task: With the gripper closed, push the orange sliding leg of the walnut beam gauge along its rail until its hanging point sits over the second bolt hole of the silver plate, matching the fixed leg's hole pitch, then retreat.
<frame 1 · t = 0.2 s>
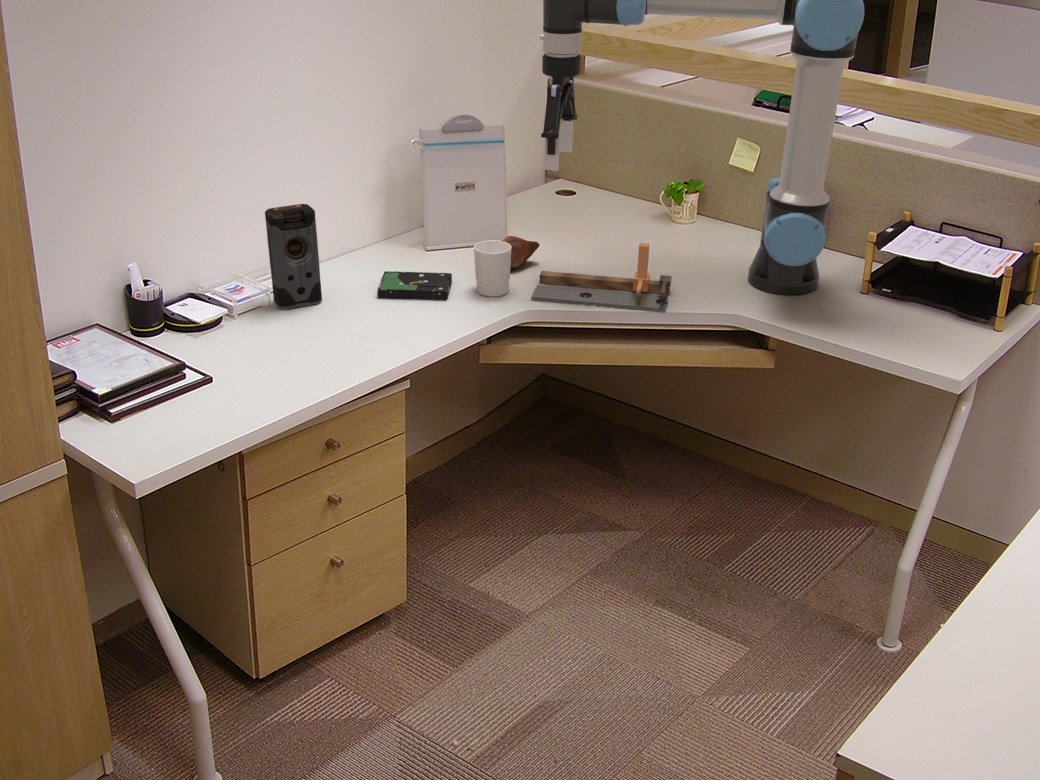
hand: (558, 160, 220), 28 cm above the table, fingers open, 13 cm apart
hole board: (599, 299, 227), on the table
sliding leg: (641, 271, 226), point 5 cm above the table, slide at -8.0 cm
white cup: (492, 291, 230), on the table
beam: (604, 286, 233), on the table
disk drive: (415, 293, 230), on the table
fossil: (509, 267, 243), on the table
electronic device: (298, 303, 224), on the table
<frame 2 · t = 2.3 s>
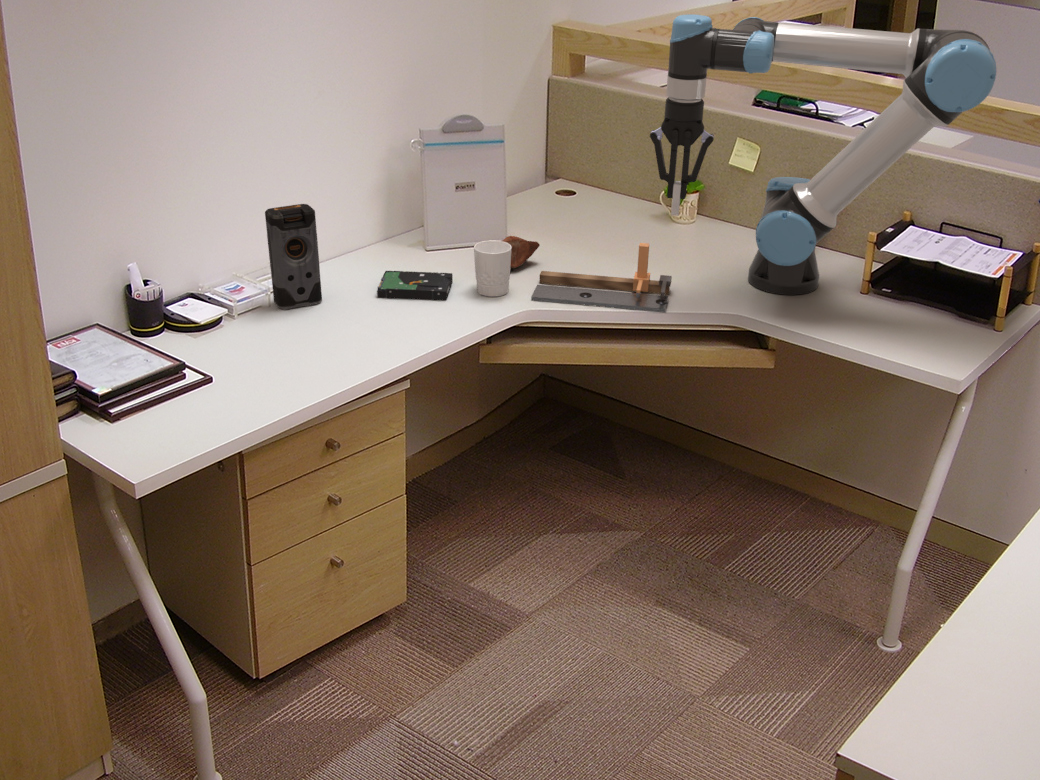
hand: (675, 213, 223), 18 cm above the table, fingers closed
nothing on the table moved.
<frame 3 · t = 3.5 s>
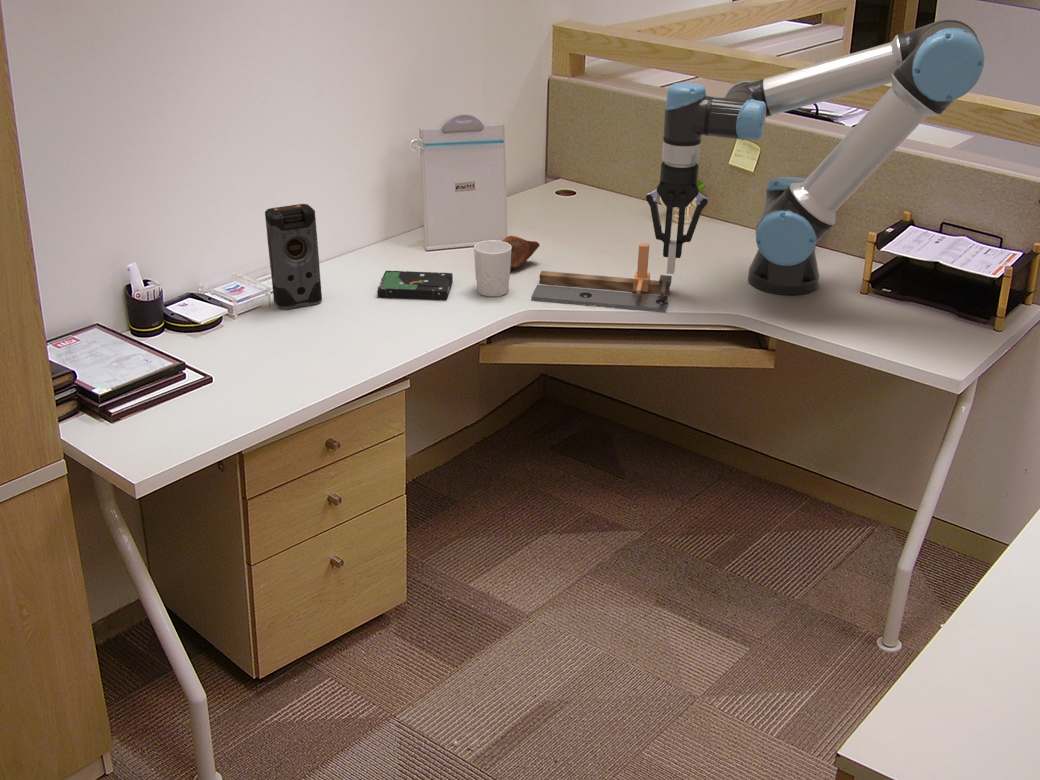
hand: (670, 271, 229), 5 cm above the table, fingers closed
nothing on the table moved.
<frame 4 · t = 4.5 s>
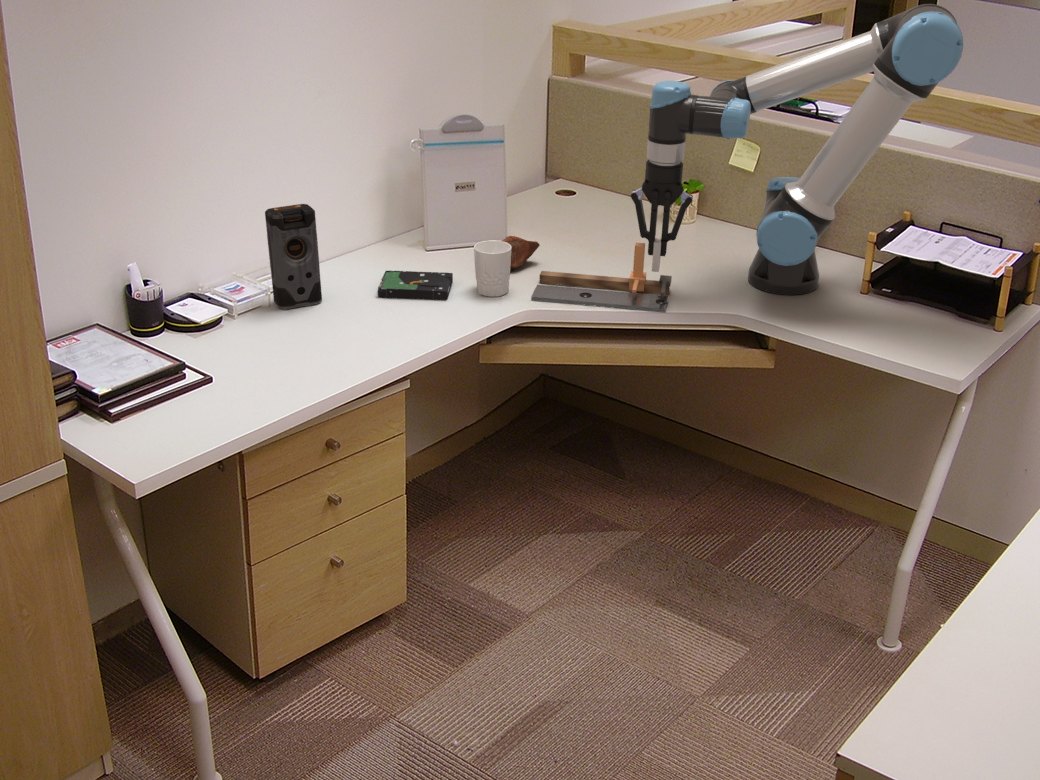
hand: (655, 269, 229), 5 cm above the table, fingers closed
sliding leg: (637, 270, 227), point 5 cm above the table, slide at -7.1 cm, touching gripper
everything else where it was.
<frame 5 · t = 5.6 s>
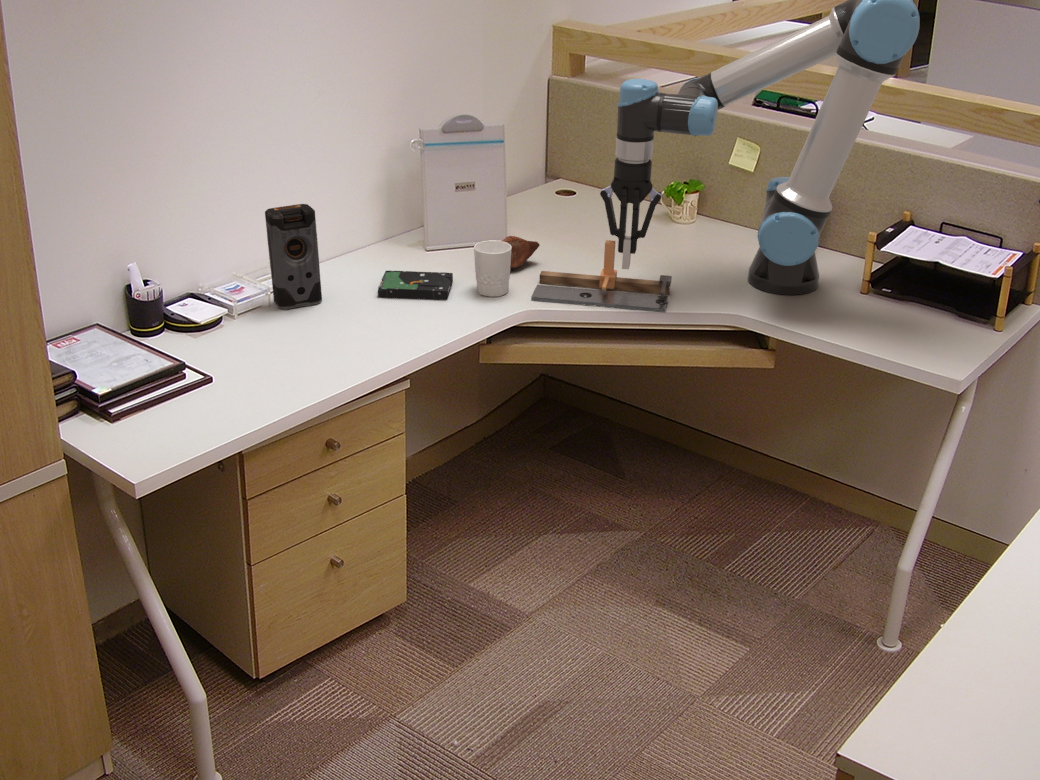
hand: (625, 266, 230), 5 cm above the table, fingers closed
sliding leg: (607, 268, 228), point 5 cm above the table, slide at -0.8 cm, touching gripper
everything else where it was.
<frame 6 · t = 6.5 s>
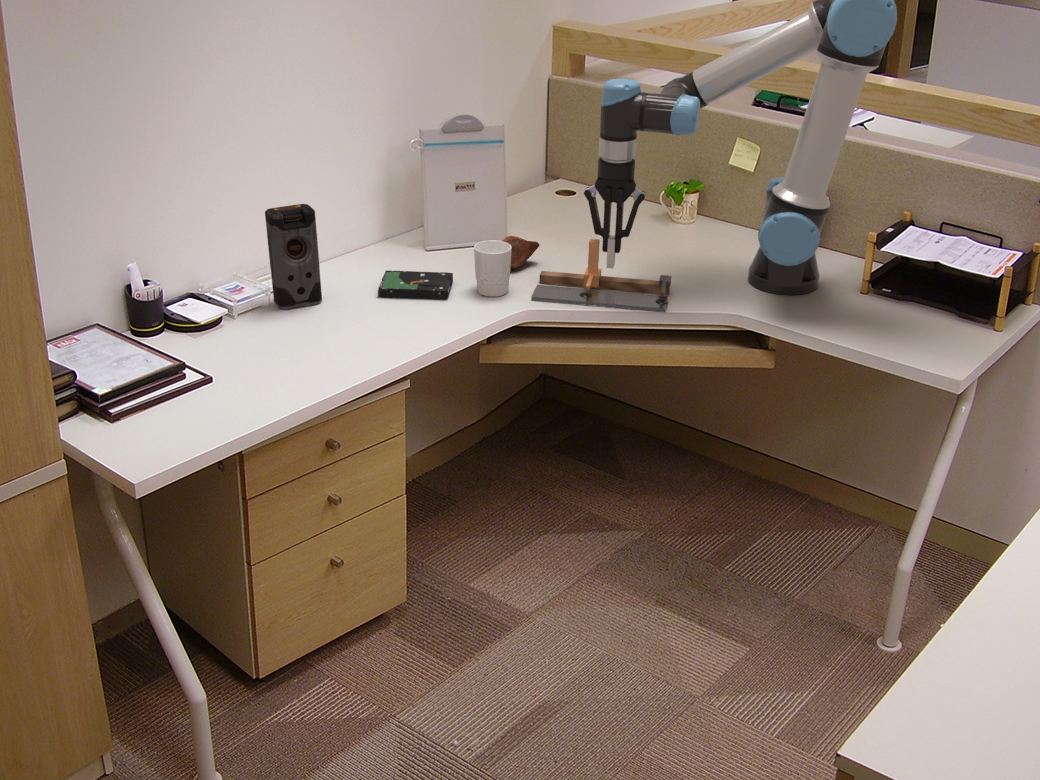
hand: (610, 266, 231), 5 cm above the table, fingers closed
sliding leg: (591, 267, 228), point 5 cm above the table, slide at 2.6 cm, touching gripper
everything else where it was.
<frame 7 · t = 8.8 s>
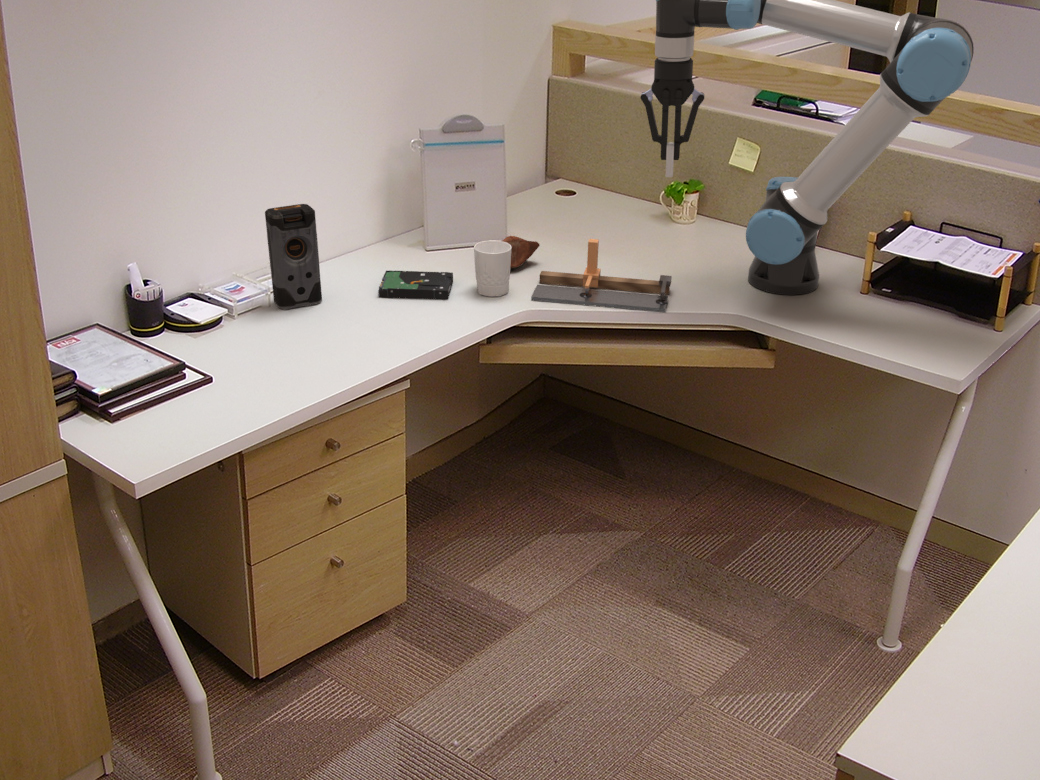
hand: (669, 175, 222), 25 cm above the table, fingers closed
sliding leg: (590, 267, 228), point 5 cm above the table, slide at 2.8 cm
everything else where it was.
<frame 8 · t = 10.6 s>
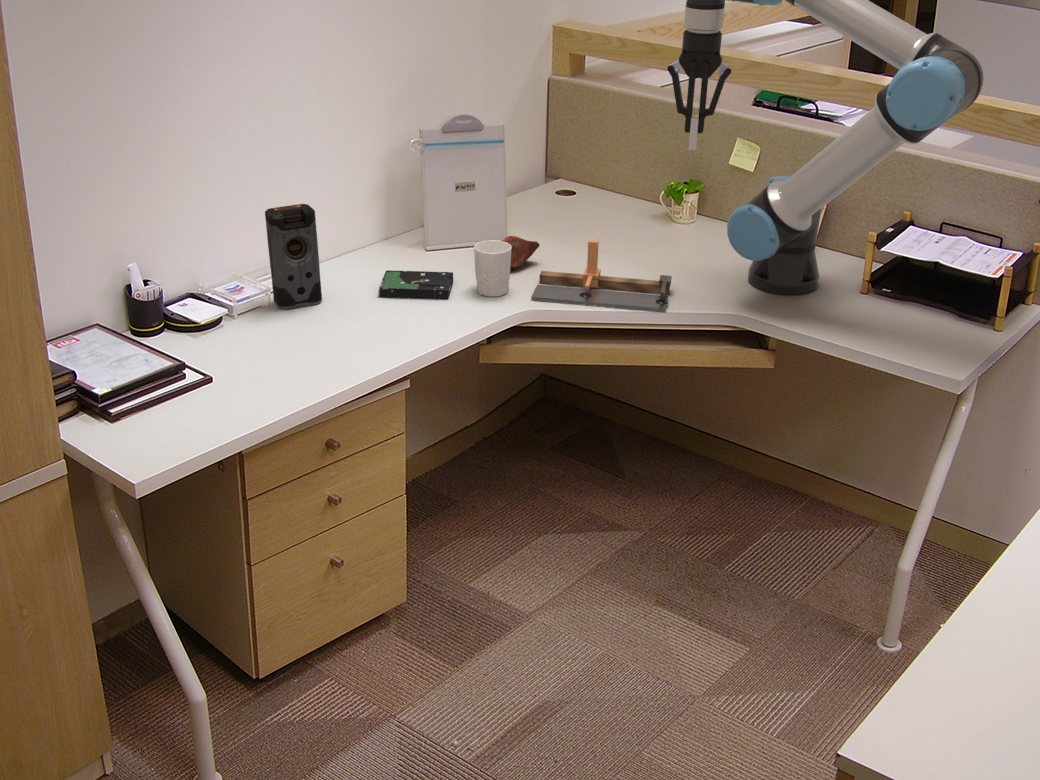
hand: (692, 148, 223), 29 cm above the table, fingers closed
nothing on the table moved.
at the end: sliding leg slide at 2.8 cm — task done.
